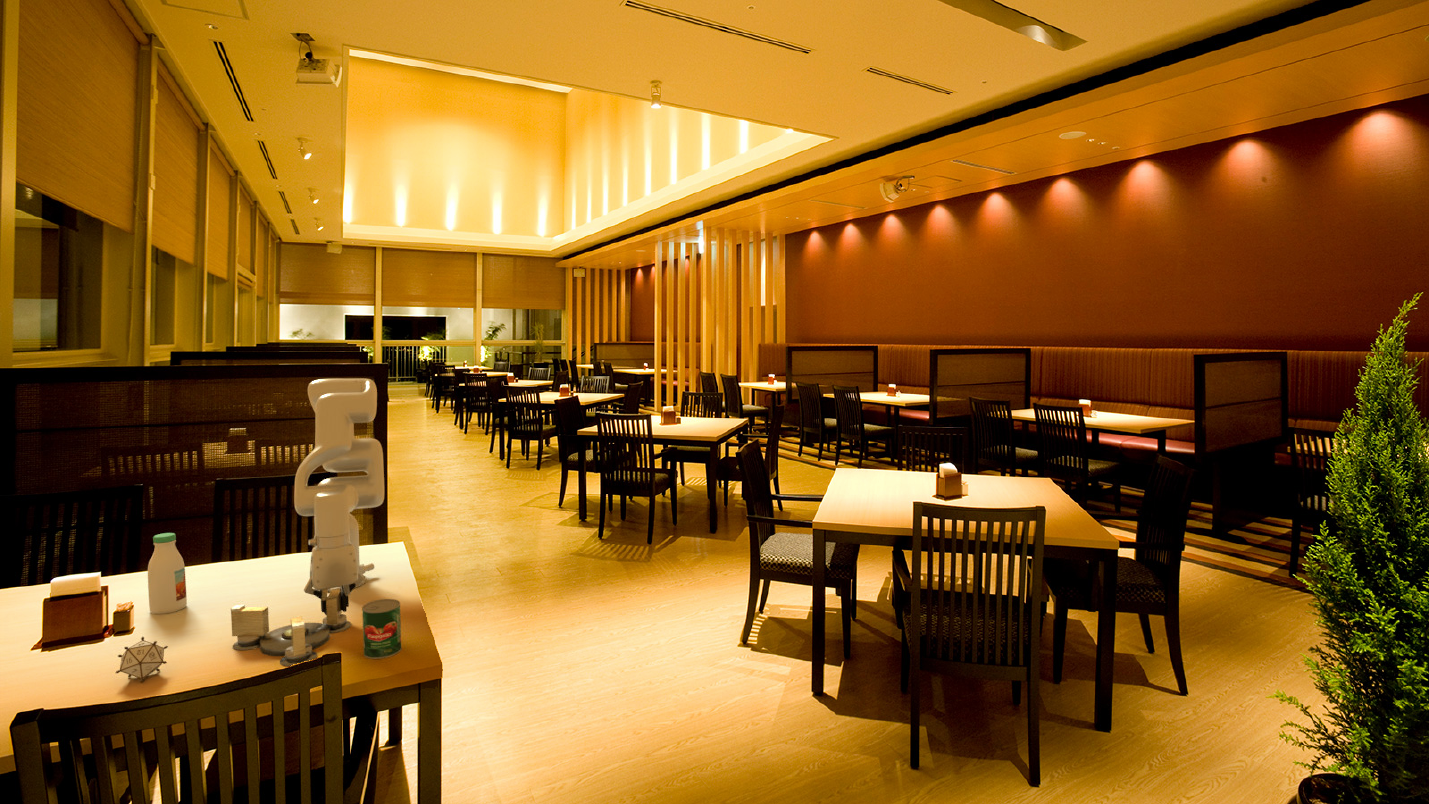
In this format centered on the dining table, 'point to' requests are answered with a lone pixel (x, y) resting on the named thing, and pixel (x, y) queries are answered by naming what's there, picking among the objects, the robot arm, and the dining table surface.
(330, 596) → the knob near
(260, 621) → the knob
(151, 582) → the milk bottle
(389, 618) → the canned tomato
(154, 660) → the game die
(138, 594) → the dining table surface
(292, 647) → the knob
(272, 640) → the plate
